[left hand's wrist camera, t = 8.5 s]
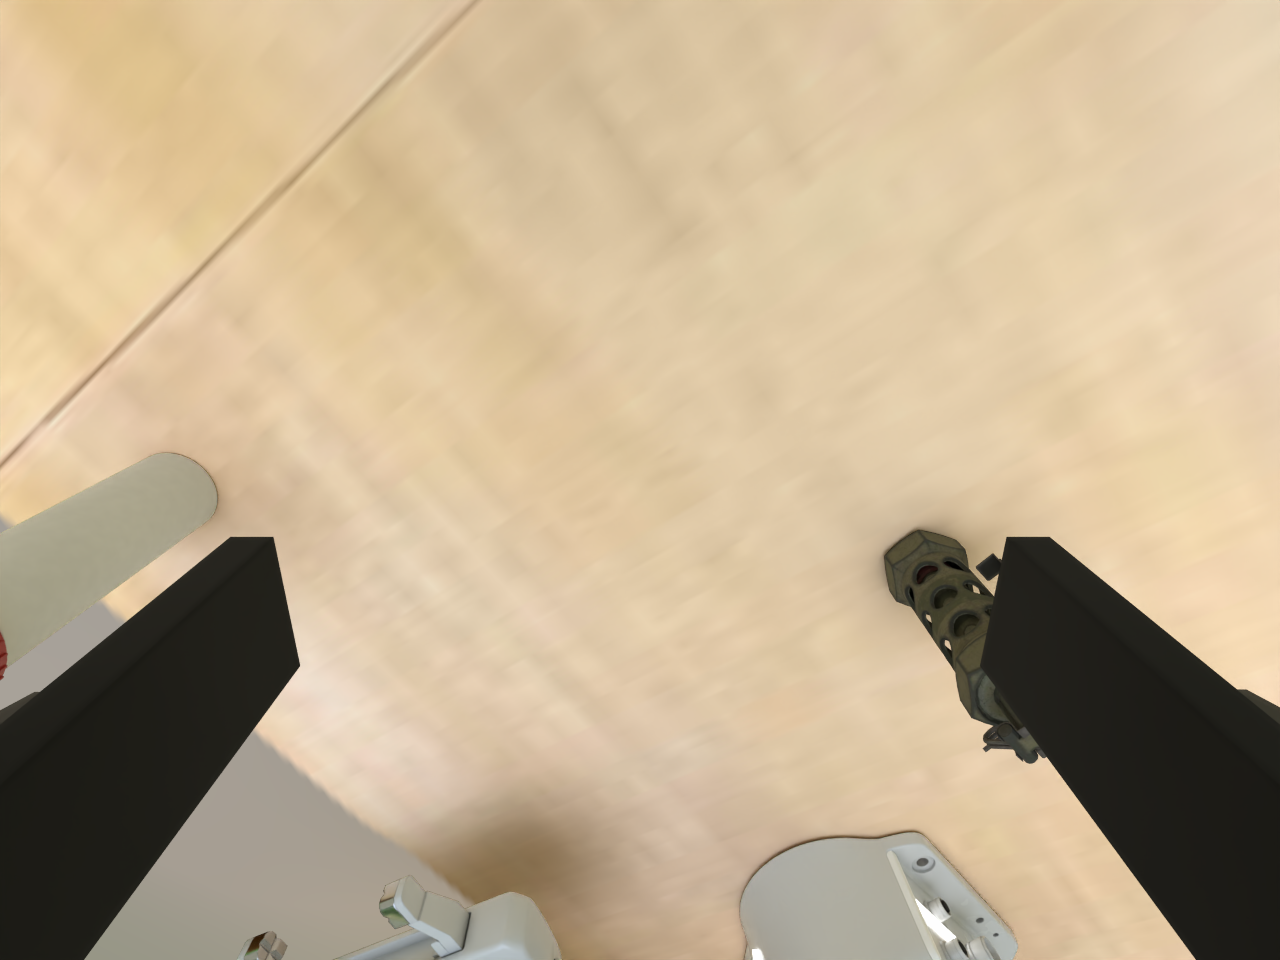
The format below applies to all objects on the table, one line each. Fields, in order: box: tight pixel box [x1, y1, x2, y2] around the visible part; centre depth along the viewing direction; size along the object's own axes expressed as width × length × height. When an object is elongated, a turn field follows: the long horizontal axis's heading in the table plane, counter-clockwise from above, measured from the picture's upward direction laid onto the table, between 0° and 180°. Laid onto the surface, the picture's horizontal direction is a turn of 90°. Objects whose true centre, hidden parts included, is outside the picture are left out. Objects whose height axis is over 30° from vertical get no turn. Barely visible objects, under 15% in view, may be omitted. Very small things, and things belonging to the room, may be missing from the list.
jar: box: [0, 453, 218, 667], centre depth 35 cm, size 5×5×17 cm
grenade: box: [885, 530, 1047, 764], centre depth 37 cm, size 9×6×15 cm, turn 134°
